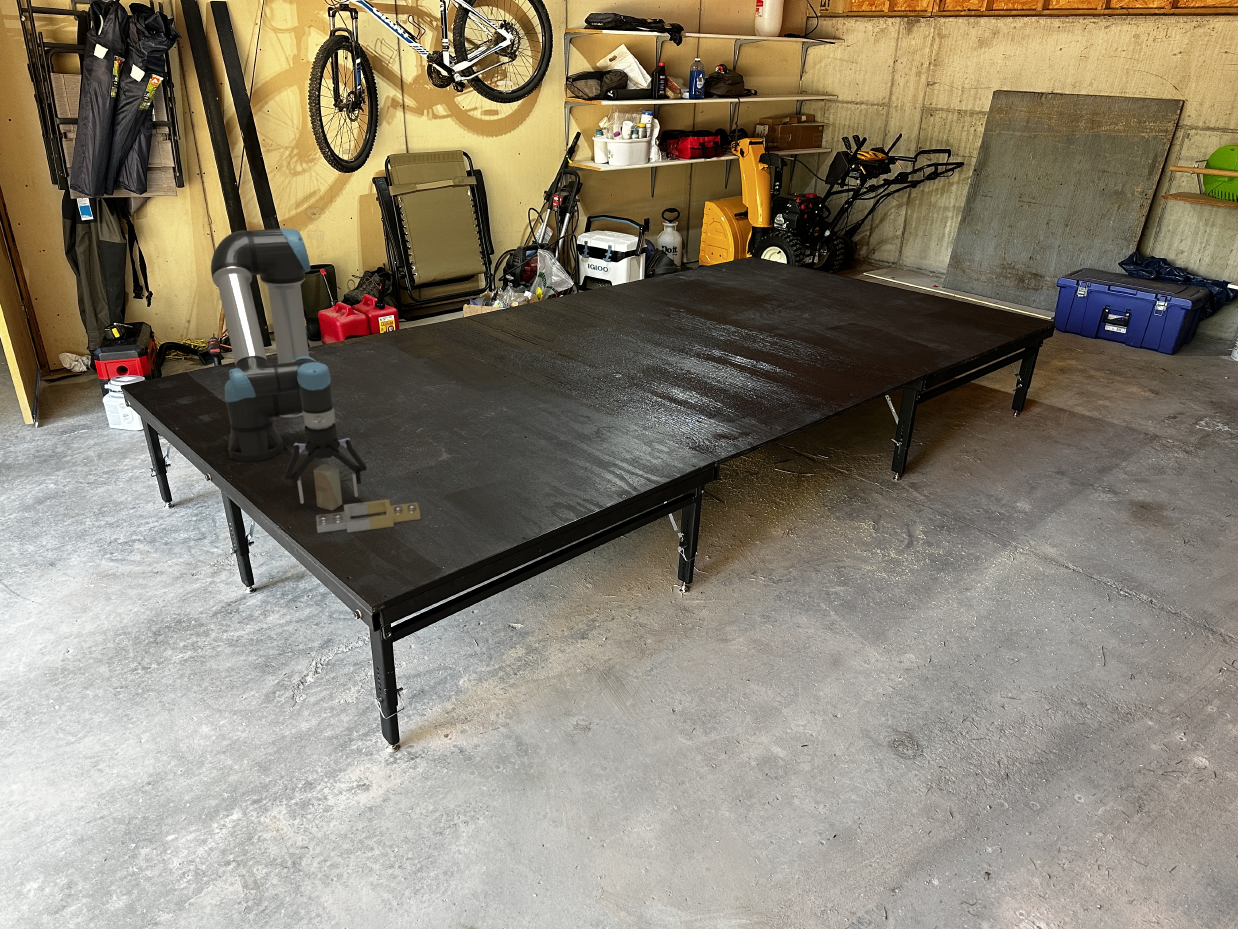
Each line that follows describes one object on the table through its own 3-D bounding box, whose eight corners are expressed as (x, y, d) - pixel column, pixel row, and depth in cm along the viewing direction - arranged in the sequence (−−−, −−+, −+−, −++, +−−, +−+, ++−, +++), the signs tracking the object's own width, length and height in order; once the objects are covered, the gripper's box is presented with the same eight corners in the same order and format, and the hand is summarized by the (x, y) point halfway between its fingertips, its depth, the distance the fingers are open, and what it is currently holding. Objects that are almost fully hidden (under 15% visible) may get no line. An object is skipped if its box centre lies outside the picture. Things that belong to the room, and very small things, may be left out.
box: (316, 507, 221) (311, 469, 216) (327, 499, 224) (322, 462, 220) (333, 511, 219) (328, 473, 214) (343, 503, 223) (339, 466, 218)
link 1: (317, 536, 207) (316, 526, 206) (316, 518, 215) (315, 508, 214) (370, 529, 211) (369, 519, 210) (367, 512, 219) (366, 502, 218)
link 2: (370, 529, 211) (369, 519, 210) (367, 512, 219) (366, 502, 218) (421, 522, 216) (420, 512, 214) (416, 505, 223) (415, 495, 222)
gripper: (266, 434, 204) (278, 510, 214) (372, 424, 212) (379, 498, 222) (267, 423, 211) (278, 497, 220) (369, 413, 219) (376, 485, 228)
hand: (329, 497), depth 221 cm, fingers open, 13 cm apart
